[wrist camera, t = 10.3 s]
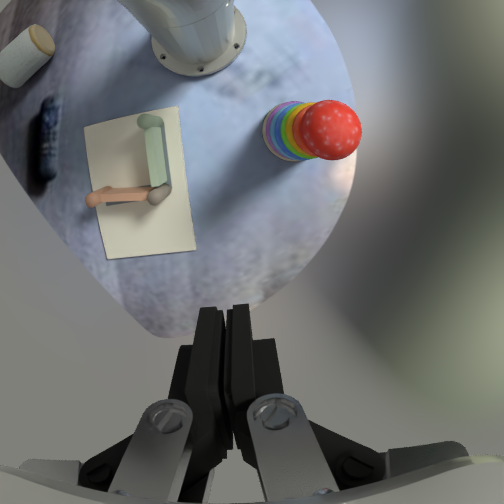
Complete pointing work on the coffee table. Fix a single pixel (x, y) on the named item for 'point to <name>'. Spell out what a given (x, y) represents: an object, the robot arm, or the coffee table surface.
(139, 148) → the board
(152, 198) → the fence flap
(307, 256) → the coffee table surface
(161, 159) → the bar
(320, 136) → the stacking toy
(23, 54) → the ceramic mug
